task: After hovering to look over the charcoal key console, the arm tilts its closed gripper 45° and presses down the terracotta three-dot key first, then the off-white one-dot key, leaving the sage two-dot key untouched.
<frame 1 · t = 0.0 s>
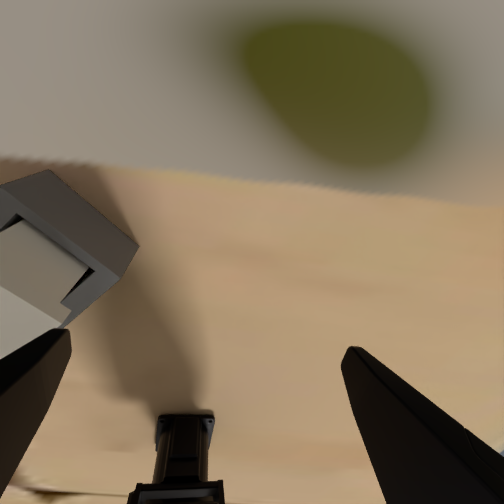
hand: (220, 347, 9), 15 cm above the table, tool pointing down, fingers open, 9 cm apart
key one dot: (15, 283, 16), point 7 cm above the table, slide at 0.0 cm
key console: (15, 289, 23), on the table
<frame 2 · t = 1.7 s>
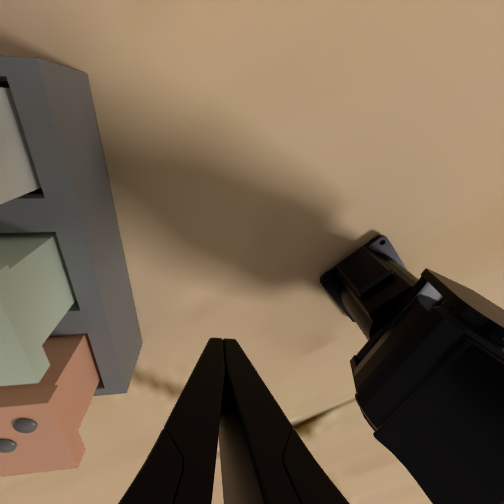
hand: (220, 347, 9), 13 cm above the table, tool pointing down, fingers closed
key three dots: (42, 385, 17), point 7 cm above the table, slide at 0.0 cm
key console: (62, 240, 20), on the table
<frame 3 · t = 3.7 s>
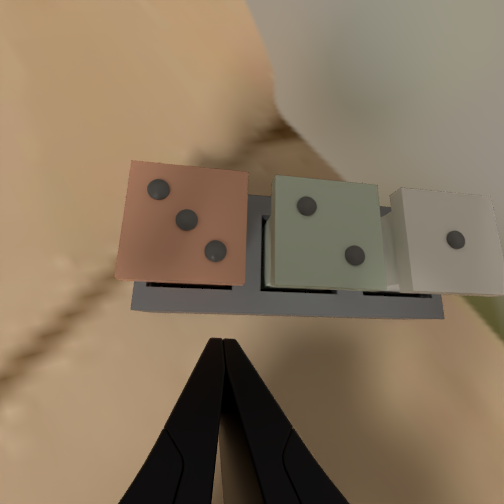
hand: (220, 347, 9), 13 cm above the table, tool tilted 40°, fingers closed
key one dot: (409, 254, 18), point 7 cm above the table, slide at 0.0 cm
key three dots: (191, 240, 16), point 7 cm above the table, slide at 0.0 cm
key two dots: (306, 248, 17), point 7 cm above the table, slide at 0.0 cm
key console: (280, 267, 23), on the table
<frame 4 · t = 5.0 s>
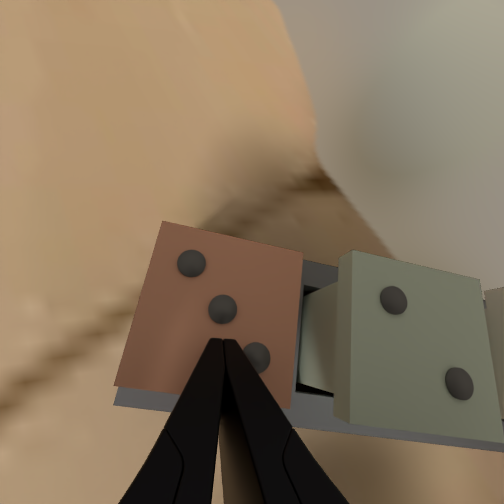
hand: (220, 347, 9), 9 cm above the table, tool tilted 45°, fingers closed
key one dot: (490, 365, 14), point 7 cm above the table, slide at 0.0 cm
key three dots: (213, 319, 13), point 5 cm above the table, slide at 1.3 cm
key two dots: (365, 342, 13), point 7 cm above the table, slide at 0.0 cm
key console: (307, 344, 19), on the table
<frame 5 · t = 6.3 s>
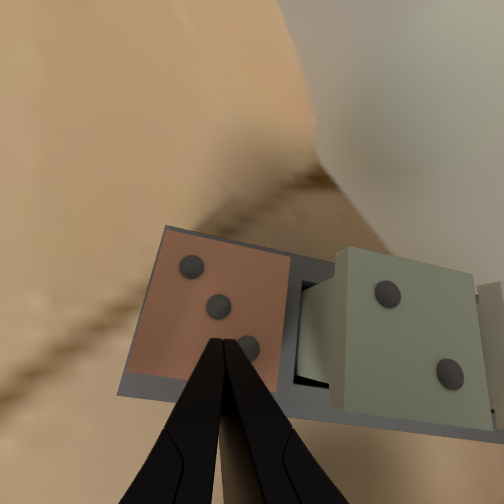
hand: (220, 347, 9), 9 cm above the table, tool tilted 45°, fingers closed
key one dot: (483, 358, 14), point 7 cm above the table, slide at 0.0 cm
key three dots: (211, 315, 14), point 4 cm above the table, slide at 2.5 cm
key two dots: (361, 336, 13), point 7 cm above the table, slide at 0.0 cm
key console: (306, 339, 19), on the table
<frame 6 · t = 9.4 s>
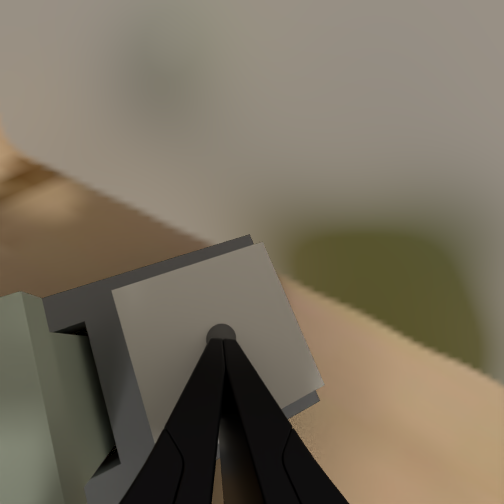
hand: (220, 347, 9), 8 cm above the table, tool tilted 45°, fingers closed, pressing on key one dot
key one dot: (212, 341, 13), point 4 cm above the table, slide at 2.6 cm, touching gripper
key console: (74, 398, 14), on the table
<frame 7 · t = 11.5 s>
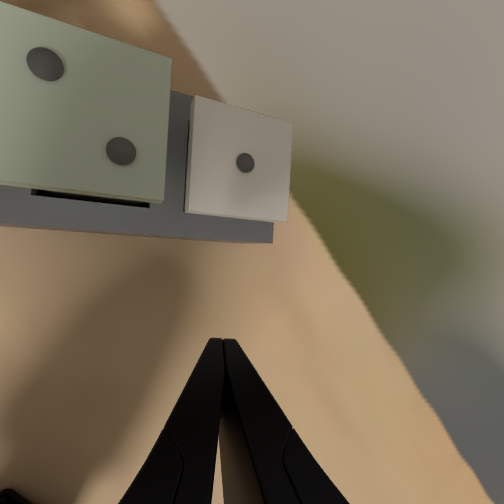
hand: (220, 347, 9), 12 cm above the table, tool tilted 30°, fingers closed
key one dot: (223, 177, 18), point 4 cm above the table, slide at 2.5 cm
key two dots: (95, 143, 13), point 6 cm above the table, slide at 0.4 cm
key console: (104, 173, 18), on the table
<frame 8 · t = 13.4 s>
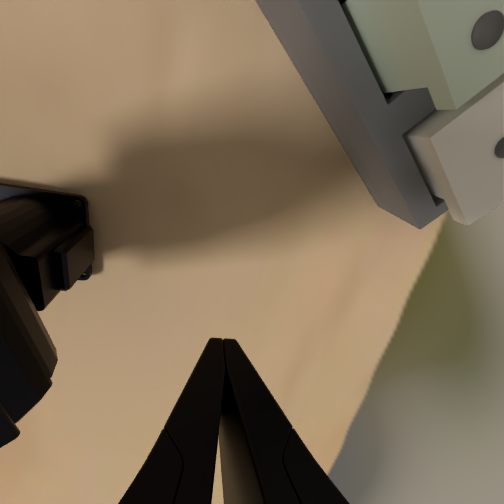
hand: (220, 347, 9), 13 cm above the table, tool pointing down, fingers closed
key one dot: (449, 140, 16), point 4 cm above the table, slide at 2.5 cm
key two dots: (431, 2, 11), point 6 cm above the table, slide at 0.4 cm
key console: (360, 39, 17), on the table
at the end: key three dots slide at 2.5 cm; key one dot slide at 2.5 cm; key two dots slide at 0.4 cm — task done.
